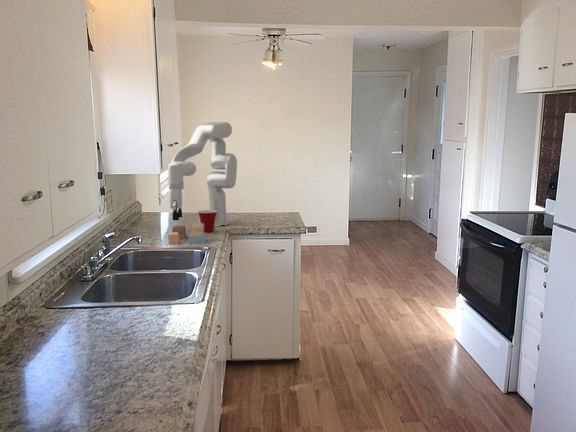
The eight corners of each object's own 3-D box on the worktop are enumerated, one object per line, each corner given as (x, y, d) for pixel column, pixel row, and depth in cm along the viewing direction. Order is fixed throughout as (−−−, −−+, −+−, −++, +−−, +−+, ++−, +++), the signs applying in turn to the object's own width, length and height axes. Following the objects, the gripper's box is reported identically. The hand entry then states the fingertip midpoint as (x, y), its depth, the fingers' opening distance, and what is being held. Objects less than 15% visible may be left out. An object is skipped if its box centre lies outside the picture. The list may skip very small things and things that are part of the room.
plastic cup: (221, 230, 283) (220, 209, 280) (213, 234, 272) (212, 212, 270) (203, 229, 286) (202, 208, 283) (195, 233, 275) (194, 211, 273)
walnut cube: (174, 236, 268) (174, 225, 267) (185, 236, 269) (185, 225, 268) (172, 239, 262) (172, 228, 261) (184, 238, 263) (183, 227, 262)
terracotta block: (168, 242, 255) (167, 232, 254) (178, 241, 257) (177, 232, 256) (168, 244, 251) (168, 234, 250) (179, 243, 252) (178, 234, 251)
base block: (191, 240, 260) (190, 232, 259) (206, 239, 261) (206, 232, 260) (189, 244, 252) (188, 236, 252) (204, 243, 253) (204, 235, 252)
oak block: (192, 233, 258) (192, 223, 257) (204, 232, 259) (203, 223, 258) (190, 235, 252) (190, 226, 252) (202, 235, 253) (202, 225, 252)
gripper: (171, 184, 269) (173, 216, 271) (165, 188, 252) (167, 221, 254) (186, 184, 269) (187, 216, 272) (180, 188, 252) (182, 221, 255)
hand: (177, 218), depth 263 cm, fingers open, 9 cm apart
